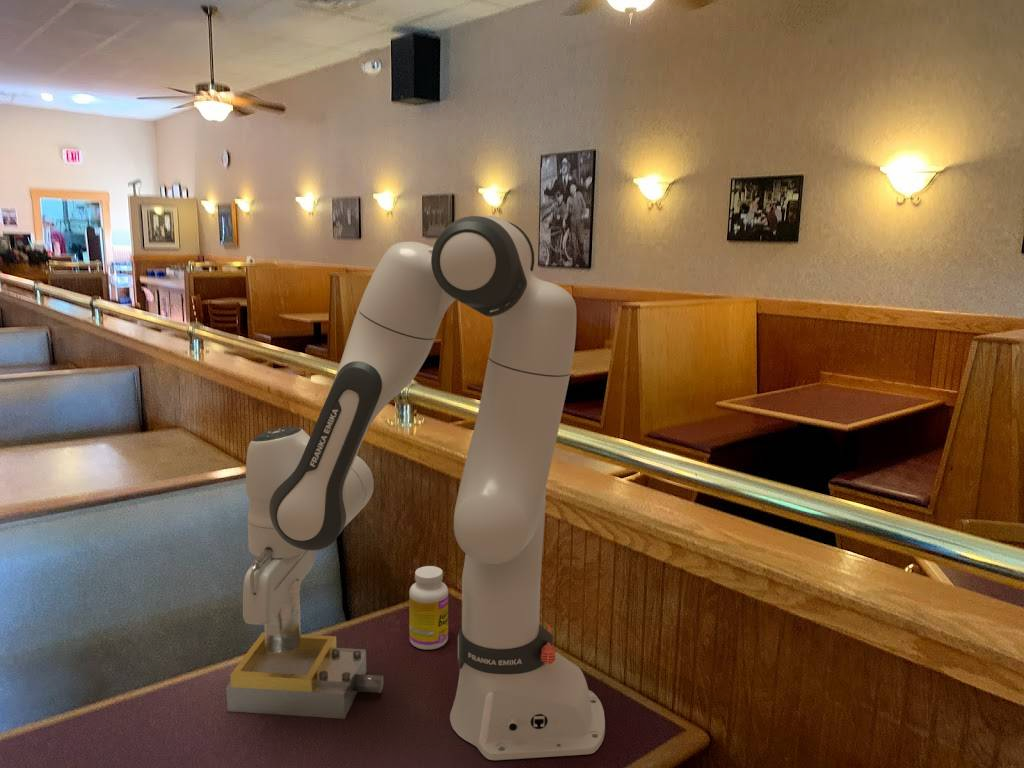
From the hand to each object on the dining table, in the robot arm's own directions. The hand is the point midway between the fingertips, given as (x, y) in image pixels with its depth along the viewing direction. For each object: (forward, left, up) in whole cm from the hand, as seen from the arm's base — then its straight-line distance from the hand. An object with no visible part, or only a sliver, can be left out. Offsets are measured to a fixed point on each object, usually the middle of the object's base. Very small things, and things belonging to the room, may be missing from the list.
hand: (282, 621), depth 117 cm
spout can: (+1, 0, -4) cm, 4 cm away
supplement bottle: (-19, -16, -12) cm, 28 cm away
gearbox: (-4, 0, -11) cm, 12 cm away
